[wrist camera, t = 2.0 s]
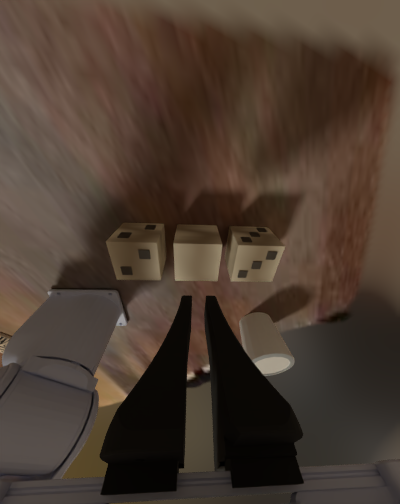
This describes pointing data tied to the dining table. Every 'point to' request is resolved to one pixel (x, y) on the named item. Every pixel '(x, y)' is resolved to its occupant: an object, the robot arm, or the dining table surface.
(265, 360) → the cream short cylinder
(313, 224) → the dining table surface
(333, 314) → the dining table surface
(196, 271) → the plain block
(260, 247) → the dotted block three
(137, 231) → the dotted block two
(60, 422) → the robot arm
